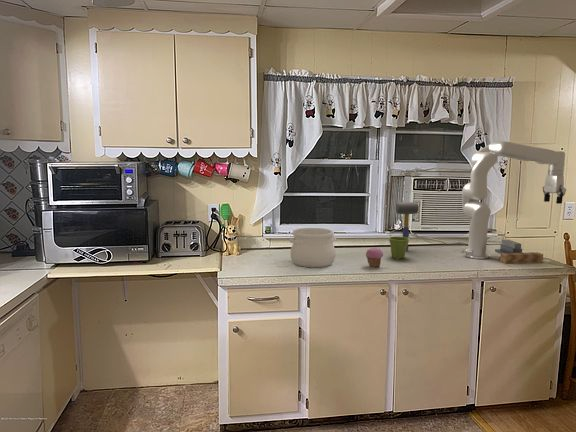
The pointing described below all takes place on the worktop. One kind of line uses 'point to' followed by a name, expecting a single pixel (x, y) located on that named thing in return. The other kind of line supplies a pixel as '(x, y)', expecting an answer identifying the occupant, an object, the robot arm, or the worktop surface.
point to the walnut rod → (521, 257)
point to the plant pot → (398, 246)
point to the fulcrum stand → (509, 247)
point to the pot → (313, 247)
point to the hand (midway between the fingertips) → (552, 202)
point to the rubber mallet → (406, 214)
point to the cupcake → (374, 256)
